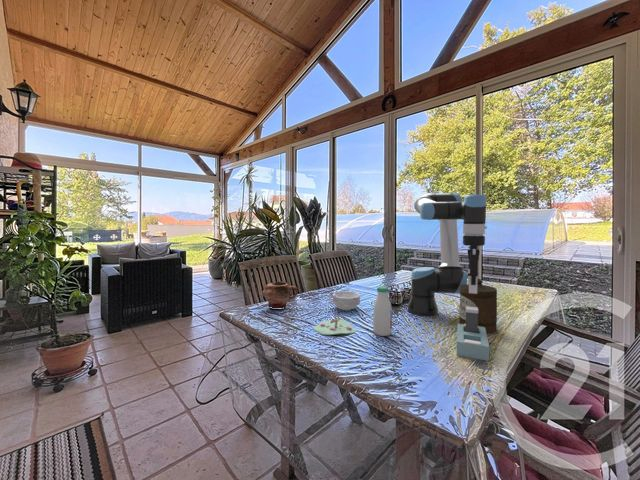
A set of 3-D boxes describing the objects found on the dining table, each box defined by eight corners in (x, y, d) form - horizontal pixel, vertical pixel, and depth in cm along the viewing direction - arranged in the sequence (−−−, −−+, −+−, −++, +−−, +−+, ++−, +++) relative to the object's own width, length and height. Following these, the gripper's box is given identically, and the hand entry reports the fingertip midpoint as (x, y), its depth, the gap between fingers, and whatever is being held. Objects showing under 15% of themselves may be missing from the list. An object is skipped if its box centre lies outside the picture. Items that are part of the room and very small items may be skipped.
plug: (465, 339, 112) (466, 309, 111) (465, 335, 116) (465, 306, 115) (477, 341, 110) (478, 310, 110) (476, 337, 114) (477, 307, 113)
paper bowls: (361, 312, 152) (361, 297, 151) (333, 312, 152) (332, 297, 152) (358, 304, 167) (358, 290, 166) (332, 304, 167) (332, 290, 167)
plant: (314, 317, 146) (314, 300, 145) (354, 317, 145) (354, 300, 145) (312, 337, 121) (312, 316, 120) (361, 337, 120) (361, 316, 120)
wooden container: (453, 321, 137) (454, 275, 136) (485, 321, 137) (486, 275, 135) (468, 333, 122) (469, 282, 121) (503, 333, 122) (505, 282, 120)
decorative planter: (296, 303, 170) (295, 280, 169) (300, 309, 158) (299, 284, 157) (261, 306, 165) (261, 282, 164) (263, 312, 153) (262, 286, 152)
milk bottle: (388, 338, 118) (388, 290, 117) (370, 334, 122) (370, 288, 121) (394, 331, 125) (394, 286, 123) (377, 328, 129) (377, 284, 127)
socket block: (456, 355, 103) (456, 340, 102) (457, 335, 120) (457, 322, 120) (488, 361, 98) (489, 345, 98) (484, 339, 116) (485, 326, 116)
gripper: (487, 237, 98) (485, 298, 99) (482, 233, 120) (481, 283, 122) (463, 236, 101) (461, 295, 103) (462, 233, 123) (461, 281, 125)
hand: (472, 289), depth 112 cm, fingers open, 13 cm apart
